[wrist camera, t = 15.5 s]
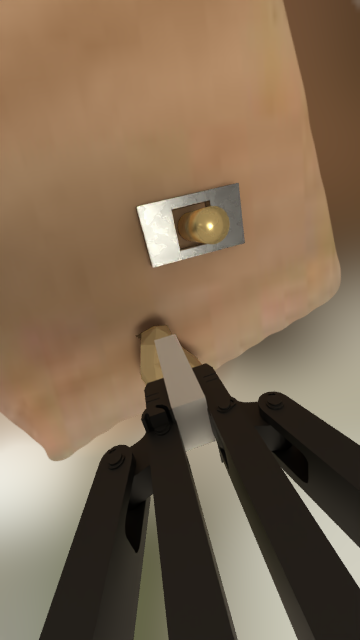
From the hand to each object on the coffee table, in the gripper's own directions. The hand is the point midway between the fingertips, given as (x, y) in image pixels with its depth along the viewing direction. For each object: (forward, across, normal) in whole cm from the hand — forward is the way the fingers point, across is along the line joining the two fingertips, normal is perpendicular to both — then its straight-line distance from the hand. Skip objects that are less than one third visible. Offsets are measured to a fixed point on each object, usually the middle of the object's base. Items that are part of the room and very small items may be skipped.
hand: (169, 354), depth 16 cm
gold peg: (+26, +10, +6) cm, 29 cm away
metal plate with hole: (+26, +10, +6) cm, 29 cm away
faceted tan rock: (+27, 0, -14) cm, 30 cm away
